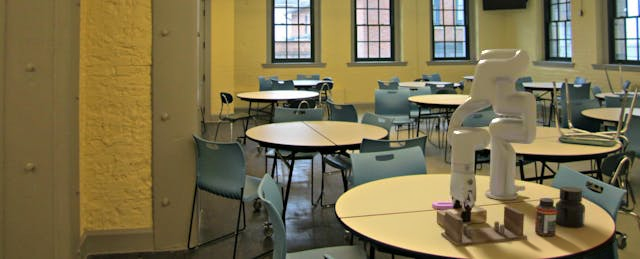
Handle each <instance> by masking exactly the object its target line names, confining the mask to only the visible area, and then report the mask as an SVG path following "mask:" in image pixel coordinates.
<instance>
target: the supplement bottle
mask: <svg viewBox="0 0 640 259" xmlns="http://www.w3.org/2000/svg"><path fill="white" fill-rule="evenodd" d="M555 206H556V205H555V200H554V199H553V198H549V197H541V198H540V199H539V203H538V204H537V205H536V208H535V221H534V222H535V226H534V232H535V233H536V234H537V235H539V236H541V235H542V237H553V236H555V234H556V228H557V227H556V225H557V223H556V212H557V209H556V207H555Z"/></svg>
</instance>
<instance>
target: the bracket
mask: <svg viewBox="0 0 640 259" xmlns="http://www.w3.org/2000/svg"><path fill="white" fill-rule="evenodd" d="M467 201H468V200H466V202H467ZM452 202H453V201H452V200H451V201H449V200H448V201H447V200H446V201H433V202H432V203H431V204H432V205H431V206H432V208H433V209H435V210H448V209H453V204H452ZM461 205H462V202H461ZM467 205H468V203H467V204H465V206H467Z"/></svg>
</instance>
